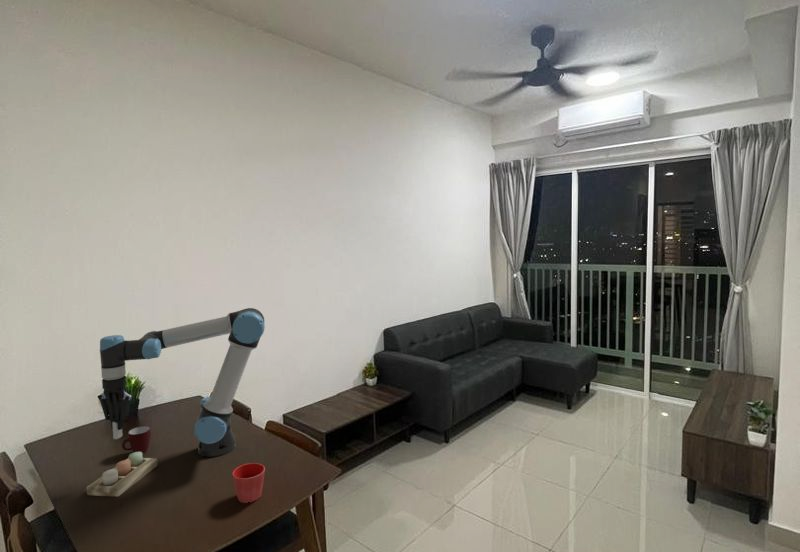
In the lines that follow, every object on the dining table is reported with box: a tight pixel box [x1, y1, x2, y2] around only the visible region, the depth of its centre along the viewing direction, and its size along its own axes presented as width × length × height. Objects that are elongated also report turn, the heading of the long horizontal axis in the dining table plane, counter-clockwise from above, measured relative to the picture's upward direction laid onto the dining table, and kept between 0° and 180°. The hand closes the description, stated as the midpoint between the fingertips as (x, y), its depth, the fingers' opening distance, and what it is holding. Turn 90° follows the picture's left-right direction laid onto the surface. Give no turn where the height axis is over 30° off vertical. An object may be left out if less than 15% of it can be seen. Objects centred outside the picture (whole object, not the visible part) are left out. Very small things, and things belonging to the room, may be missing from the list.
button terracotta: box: [115, 459, 131, 476], centre depth 161 cm, size 5×5×4 cm
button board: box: [86, 457, 158, 498], centre depth 161 cm, size 12×21×3 cm, turn 175°
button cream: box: [101, 468, 118, 486], centre depth 155 cm, size 5×5×4 cm
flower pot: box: [231, 462, 266, 504], centre depth 149 cm, size 11×11×10 cm
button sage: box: [128, 452, 144, 467], centre depth 168 cm, size 5×5×4 cm
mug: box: [121, 425, 152, 455], centre depth 181 cm, size 10×8×10 cm
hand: (118, 437), depth 161 cm, fingers closed
